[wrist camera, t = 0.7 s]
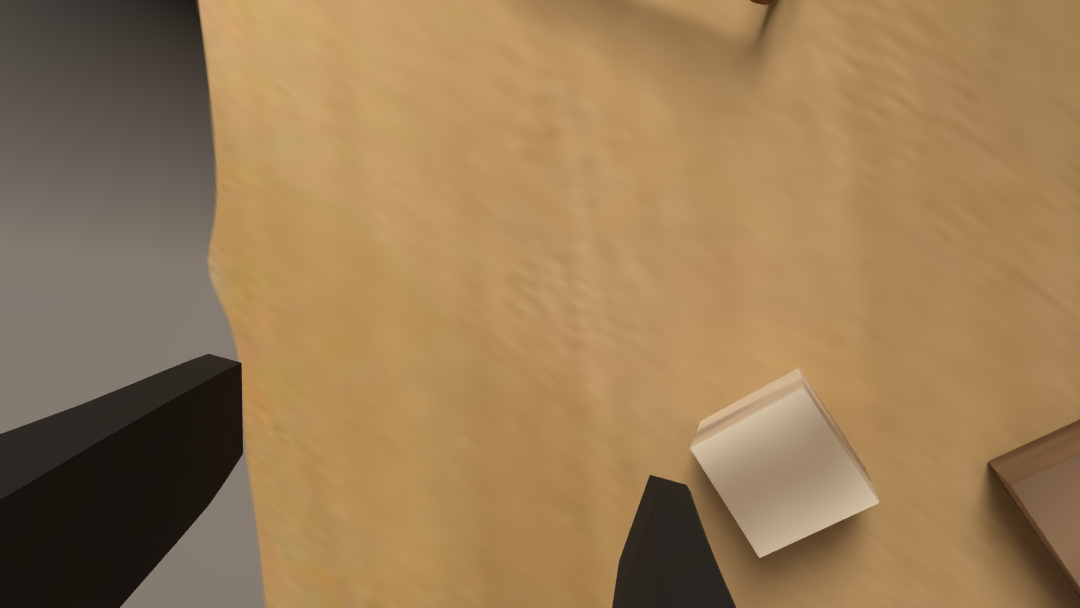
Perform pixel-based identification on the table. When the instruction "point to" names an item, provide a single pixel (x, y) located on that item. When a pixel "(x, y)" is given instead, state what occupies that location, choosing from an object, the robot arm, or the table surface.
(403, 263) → the table surface
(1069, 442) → the plinth
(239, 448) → the robot arm
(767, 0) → the glasses
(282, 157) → the table surface
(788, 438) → the block
